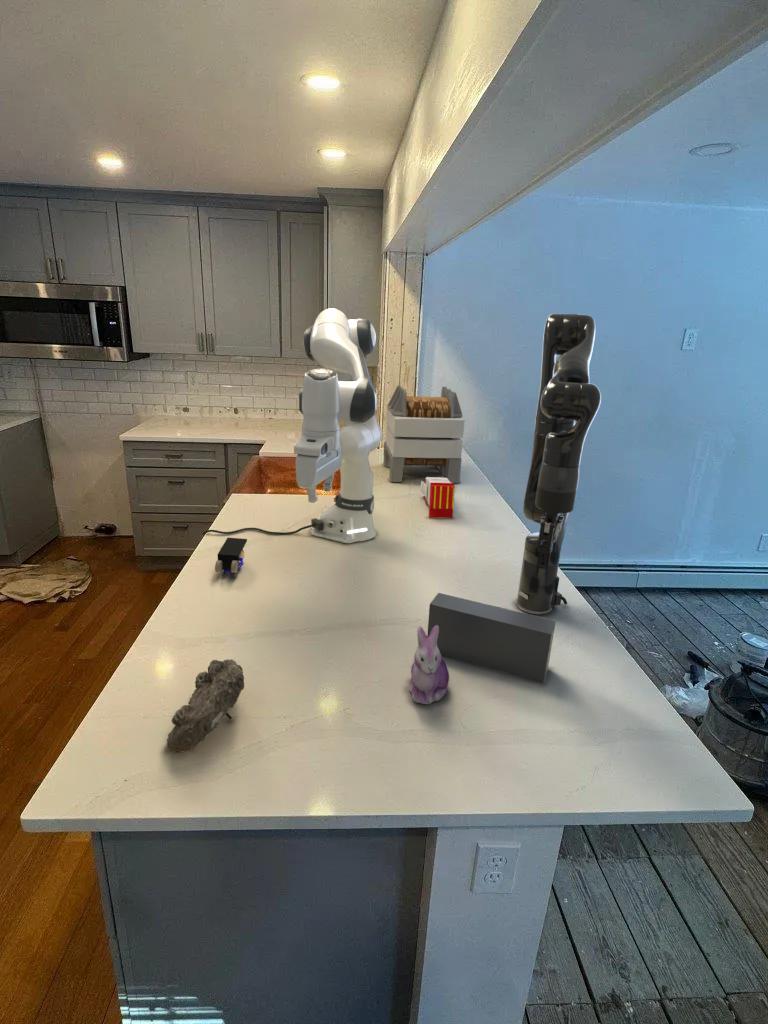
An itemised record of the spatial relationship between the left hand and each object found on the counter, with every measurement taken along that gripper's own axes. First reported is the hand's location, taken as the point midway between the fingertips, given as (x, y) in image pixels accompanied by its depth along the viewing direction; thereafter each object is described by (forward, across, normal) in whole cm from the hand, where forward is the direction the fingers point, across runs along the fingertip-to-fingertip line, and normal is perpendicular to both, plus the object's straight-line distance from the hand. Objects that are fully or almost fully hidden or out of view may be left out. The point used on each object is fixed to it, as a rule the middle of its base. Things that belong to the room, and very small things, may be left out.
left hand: (320, 496), depth 138 cm
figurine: (+31, +25, +34) cm, 52 cm away
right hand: (+4, +10, +54) cm, 55 cm away
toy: (+31, -92, +13) cm, 98 cm away
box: (+31, +9, +44) cm, 55 cm away
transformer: (+31, -138, -4) cm, 141 cm away
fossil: (+31, +46, -4) cm, 55 cm away
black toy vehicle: (+31, -12, -33) cm, 46 cm away
